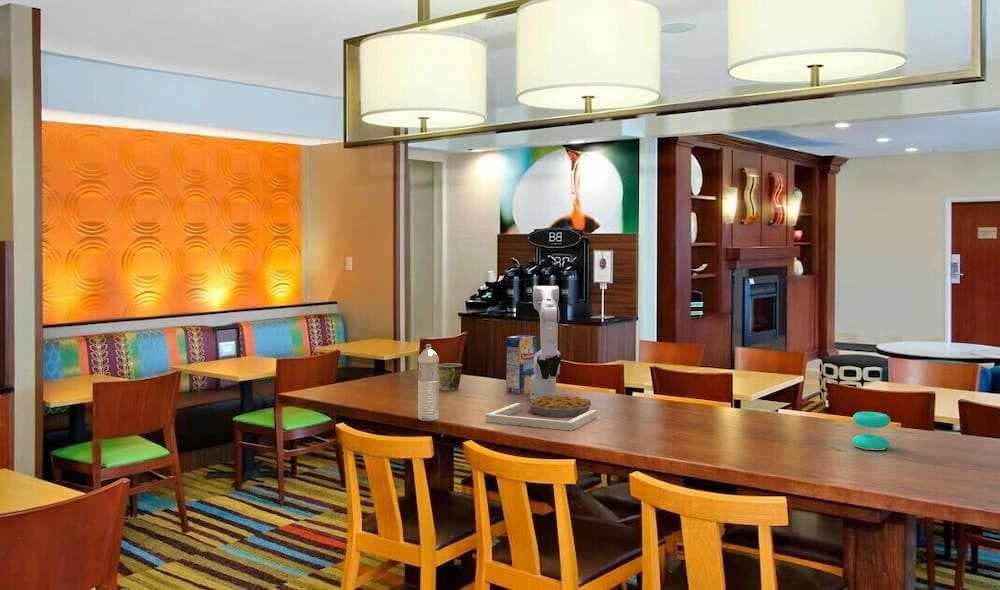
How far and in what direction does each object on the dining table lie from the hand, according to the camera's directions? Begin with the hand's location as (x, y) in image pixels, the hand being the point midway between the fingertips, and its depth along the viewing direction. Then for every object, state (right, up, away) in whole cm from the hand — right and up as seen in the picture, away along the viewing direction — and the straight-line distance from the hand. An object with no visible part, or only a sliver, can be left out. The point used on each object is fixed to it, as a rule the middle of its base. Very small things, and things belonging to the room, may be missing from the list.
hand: (549, 377), depth 323 cm
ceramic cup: (-37, -8, +35) cm, 52 cm away
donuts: (+90, -15, -63) cm, 111 cm away
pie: (+3, -11, -10) cm, 15 cm away
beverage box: (-9, -9, +32) cm, 35 cm away
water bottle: (-42, -12, -25) cm, 50 cm away
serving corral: (-4, -12, -25) cm, 28 cm away
